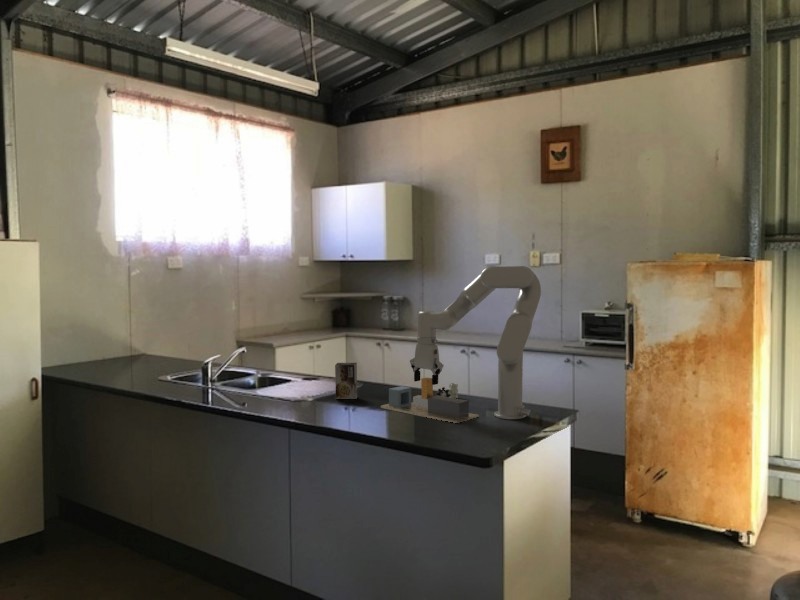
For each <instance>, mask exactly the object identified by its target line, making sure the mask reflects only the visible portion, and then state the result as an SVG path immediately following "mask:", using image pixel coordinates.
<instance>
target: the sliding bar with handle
mask: <svg viewBox="0 0 800 600" xmlns="http://www.w3.org/2000/svg"><path fill="white" fill-rule="evenodd" d="M420 381H421V385H420V386H421V391H420V392H421V393H420V394H421V395H419V394H417V395H415V396H412V402H413V406H415V407H420V408H425V409H428V397H432V396H434V393H433V392H434V389H433V387H434V385H432V377H423V378H420Z"/></svg>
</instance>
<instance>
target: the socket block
mask: <svg viewBox="0 0 800 600" xmlns="http://www.w3.org/2000/svg"><path fill="white" fill-rule="evenodd" d="M411 402H412V387H408V386H403V385H401V386H396V387H392V388H391V387H390V388H388V404H389V405H391V406H396V407H400V406H405V405H409V404H411Z"/></svg>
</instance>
